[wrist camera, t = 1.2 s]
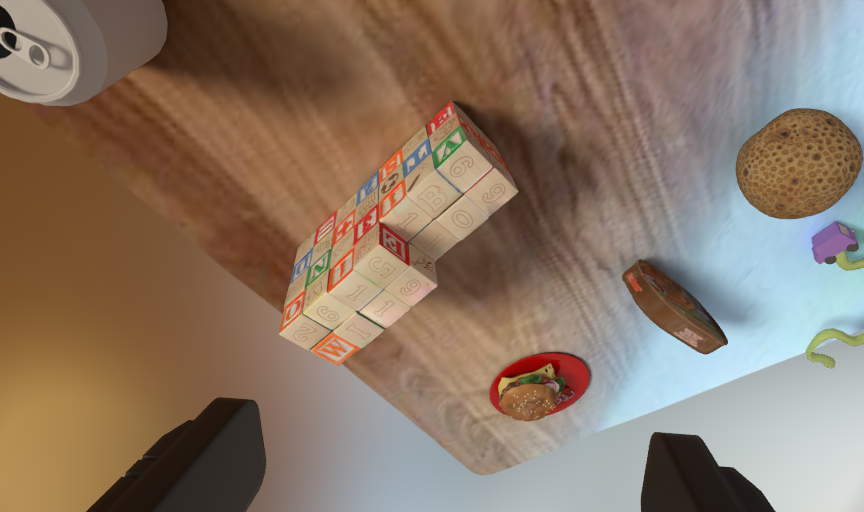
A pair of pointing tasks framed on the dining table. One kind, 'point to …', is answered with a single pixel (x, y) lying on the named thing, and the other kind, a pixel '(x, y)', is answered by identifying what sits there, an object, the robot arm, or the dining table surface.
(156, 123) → the dining table surface
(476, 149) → the stack of blocks
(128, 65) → the can
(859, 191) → the dining table surface
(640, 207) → the dining table surface
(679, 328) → the tin
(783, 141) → the natural sponge
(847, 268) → the figurine
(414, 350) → the dining table surface
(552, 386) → the hamburger
